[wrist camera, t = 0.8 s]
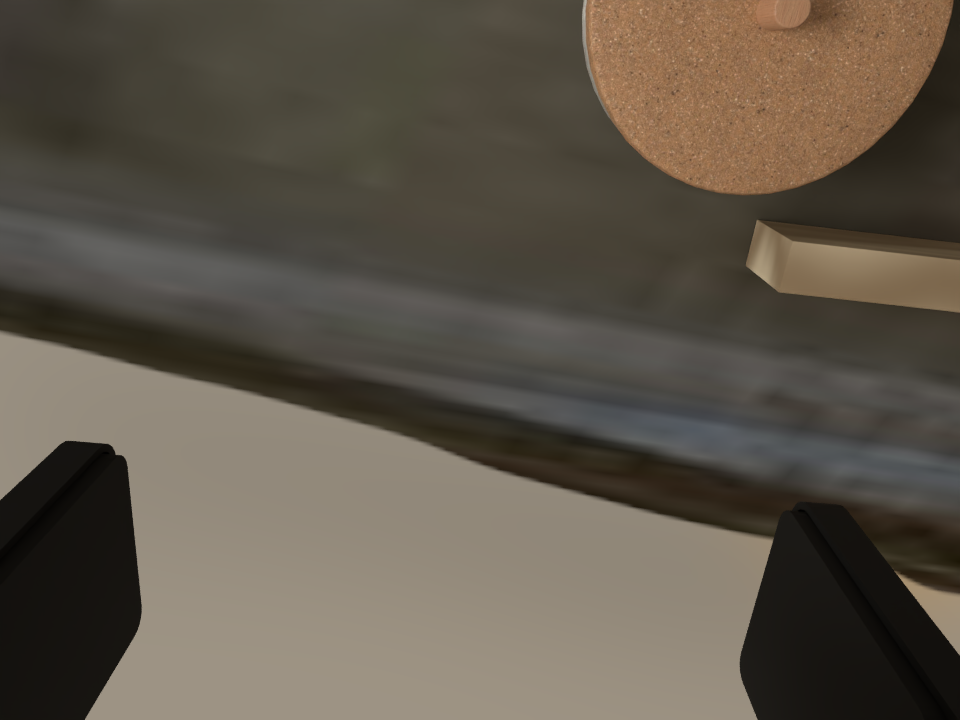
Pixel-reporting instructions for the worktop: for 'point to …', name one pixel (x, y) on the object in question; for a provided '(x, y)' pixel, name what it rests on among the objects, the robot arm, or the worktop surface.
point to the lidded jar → (758, 82)
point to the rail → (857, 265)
